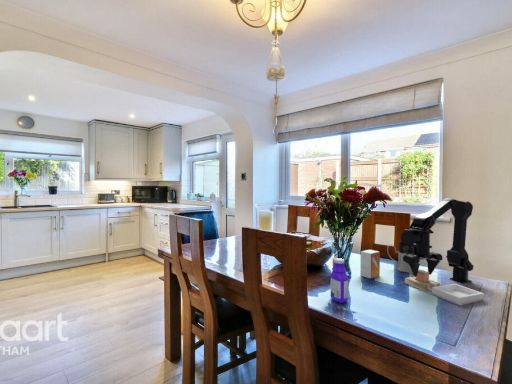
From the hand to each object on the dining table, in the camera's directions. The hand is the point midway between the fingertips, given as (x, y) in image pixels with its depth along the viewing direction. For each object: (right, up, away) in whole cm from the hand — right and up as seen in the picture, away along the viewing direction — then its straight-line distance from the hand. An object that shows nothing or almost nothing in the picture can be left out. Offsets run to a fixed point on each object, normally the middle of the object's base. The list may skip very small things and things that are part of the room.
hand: (422, 275), depth 130 cm
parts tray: (+7, -5, -14) cm, 16 cm away
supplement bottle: (-34, -5, +20) cm, 40 cm away
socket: (0, -5, 0) cm, 5 cm away
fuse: (0, -5, 0) cm, 5 cm away
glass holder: (+3, -5, +25) cm, 26 cm away
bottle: (-44, -6, -16) cm, 47 cm away
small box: (-19, -5, +15) cm, 24 cm away
